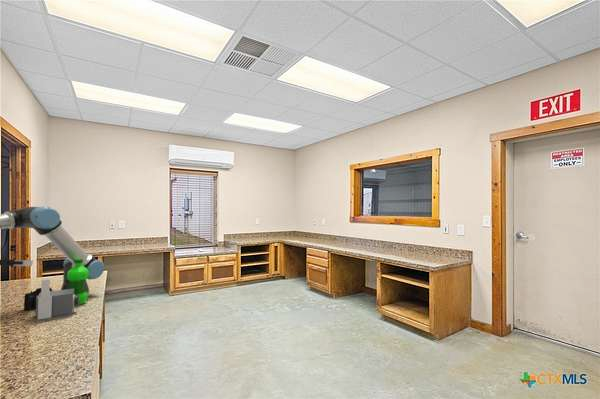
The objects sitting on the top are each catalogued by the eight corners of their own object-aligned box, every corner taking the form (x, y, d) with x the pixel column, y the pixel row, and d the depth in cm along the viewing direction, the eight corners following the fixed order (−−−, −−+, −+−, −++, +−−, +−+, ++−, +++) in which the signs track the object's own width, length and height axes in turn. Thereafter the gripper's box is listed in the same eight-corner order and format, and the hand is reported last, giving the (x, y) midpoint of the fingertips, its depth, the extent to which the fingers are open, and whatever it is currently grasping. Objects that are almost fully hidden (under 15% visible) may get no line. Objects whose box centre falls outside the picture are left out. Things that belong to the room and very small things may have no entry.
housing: (39, 314, 156) (40, 292, 156) (79, 308, 165) (79, 287, 165) (34, 322, 144) (35, 298, 145) (77, 315, 153) (77, 293, 154)
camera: (37, 312, 159) (37, 292, 159) (20, 311, 161) (21, 291, 161) (62, 304, 172) (63, 286, 173) (47, 303, 174) (47, 285, 175)
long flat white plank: (38, 319, 146) (39, 280, 146) (51, 317, 148) (52, 278, 149) (37, 319, 145) (38, 280, 146) (51, 317, 148) (52, 279, 148)
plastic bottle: (87, 300, 179) (88, 257, 180) (88, 304, 171) (89, 259, 172) (66, 303, 173) (67, 259, 174) (66, 308, 165) (67, 261, 166)
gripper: (-38, 270, 137) (31, 271, 150) (-46, 270, 127) (29, 271, 140) (-33, 253, 139) (35, 255, 152) (-41, 252, 128) (33, 254, 142)
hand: (32, 263), depth 146 cm, fingers closed
